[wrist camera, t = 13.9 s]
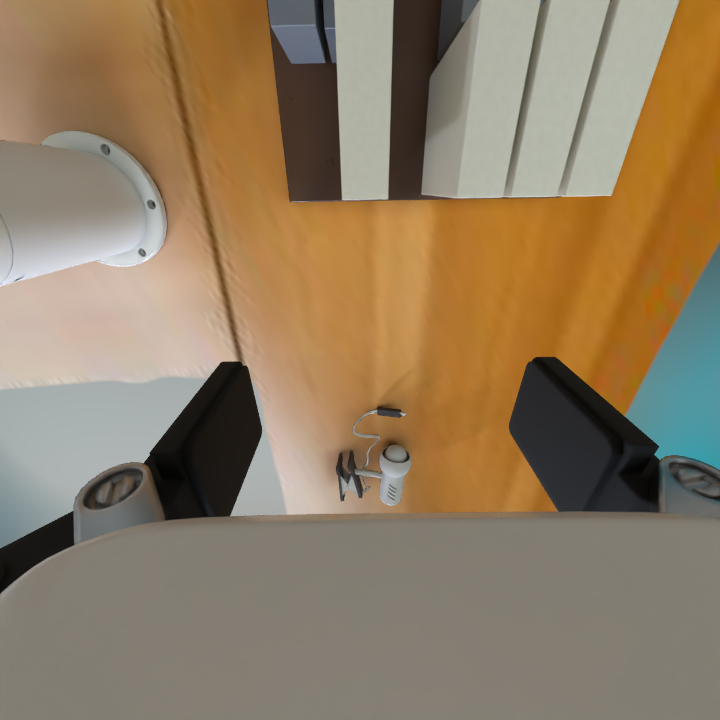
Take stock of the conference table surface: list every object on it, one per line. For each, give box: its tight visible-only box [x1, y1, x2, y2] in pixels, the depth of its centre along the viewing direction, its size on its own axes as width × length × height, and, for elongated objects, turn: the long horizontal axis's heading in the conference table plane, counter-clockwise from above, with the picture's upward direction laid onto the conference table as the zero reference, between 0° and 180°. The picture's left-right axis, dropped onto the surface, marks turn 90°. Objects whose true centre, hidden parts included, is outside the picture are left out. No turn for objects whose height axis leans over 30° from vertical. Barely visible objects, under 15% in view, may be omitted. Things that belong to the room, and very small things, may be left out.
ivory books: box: [421, 0, 679, 198], centre depth 23 cm, size 10×9×13 cm
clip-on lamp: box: [336, 407, 411, 506], centre depth 48 cm, size 12×6×18 cm
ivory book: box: [334, 0, 394, 200], centre depth 23 cm, size 3×9×13 cm, turn 1°
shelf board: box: [267, 0, 562, 202], centre depth 27 cm, size 28×20×2 cm
